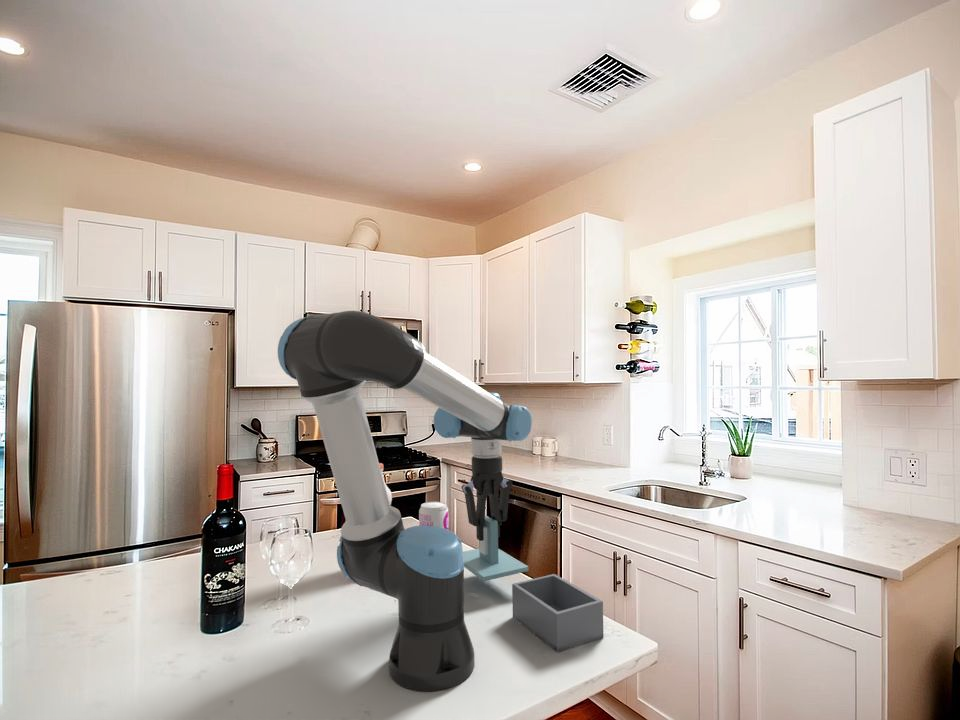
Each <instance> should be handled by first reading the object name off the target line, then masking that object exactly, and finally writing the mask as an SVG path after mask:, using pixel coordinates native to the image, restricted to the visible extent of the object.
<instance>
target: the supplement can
mask: <svg viewBox="0 0 960 720" xmlns="http://www.w3.org/2000/svg"><path fill="white" fill-rule="evenodd" d="M418 520H419V521H418V526H422V525H427V526H429V527H432V526H437V527H441V528H444V529H447V530H449V531H450V529H449V528H450V527H449V526H450V524H449V523H450V522H449V508H448V505H447V503H445V502H442V501H427V502H424V503H421V505H420V508H419V510H418Z"/></svg>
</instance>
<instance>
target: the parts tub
mask: <svg viewBox="0 0 960 720" xmlns="http://www.w3.org/2000/svg"><path fill="white" fill-rule="evenodd" d="M511 590H512V592H511V593H512V594H511V596H512V597H511V598H512V600H511V601H512V603H511V604H512V618H513V619H514V620H515V621H517V622H518V623H519V624H521V625H523V627H525V628H526V629H527V630H528V631H529V632H531V633H532V634H534V635H535V636H536V637H538V639H540V640H541V641H542V642H544V643H545V644H547V645H548V646H549V647H550V648H551V649H552V650H554V651H555V652H556V653H560V652H564V651H566V650H569V649H574V648H577V647H579V646H581V645H585V644H587V643H591V642H593V641H594V642H595V641H597V640H600V639H603V638H604V602H603V600H601V599H599V598H598V597H596V596H594V595H593V594H591V593H589V592H587V591H585V590H584V589H582V588H580V587H579V586H577V585H575V584H573V583H572V582H570V581H568V580H566V579H565V578H562V577H561V576H559V575H558V574H555V573H552V574H547V575H545V576H540V577H535V578H531V579H527V580H524V581H518V582H514V583H512V584H511Z"/></svg>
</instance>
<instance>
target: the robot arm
mask: <svg viewBox="0 0 960 720" xmlns="http://www.w3.org/2000/svg"><path fill="white" fill-rule="evenodd" d="M277 359H278V362H279V365H280V367H281V369H282V370H283V372H284V373H285V374H286V375H287V376H289V377H290V378H292V379H294V380H295V381H297V385H298V389H299V392H300V395H301V398H302V399H303V400H305V401H307V402H309V403H311V404H312V405H313V409H314V413H315V416H316V419H317V423H318V425H319V431H320V433H321V436H322V440H323V444H324V448H325V451H326V454H327V458H328V461H329V465H330V468H331V472H332V475H333V478H334V483H335V487H336V490H337V494H338V497H339V501H340V505H341V509H342V511H343V515H344V518H345V522H344V523H343V525H342V526H341V528H340V536H339V537H340V538H339V542H340V543H339V545H337V548H336V559H337V564H338V567H339V569H340V571H341V572H342V574H343V575H344V576H345V578H347V579H349V580H350V581H352V582H353V583H355V584H356V585H358V586H359V587H363V588H364V587H365V588H367V589H370V590H373V591H375V592H378V593H381V594H384V595H385V596H388V597H392V598H393V599H394V598H395V599H396V600H397V601H398V602H397V603H398V608H397V609H398V624H397V629H396V632H395V634H394V639H393V642H392V645H391V648H390V651H389V657H388V672H389V675H390V678H391V679H392V680H393V681H394V682H395V683H396V684H398V685H399V686H401V687H402V688H403V687H404V688H406V689H410V690H413V691H420V692H423V691H424V692H432V691H433V692H435V691H441V690H445V689H449V688H452V687H454V686H457V685H458V684H461V683H462V682H463V681H465V680H467V678H469V677H470V676H471V674H472V673H473V671H474V669H475V649H474V646H473V642H472V640H471V637H470V633H469V631H468V628H467V625H466V622H465V607H464V606H465V599H464V598H465V573H464V570H465V567H464V557H463V552H464V551H463V544H462V541H461V539H460V537H459V536H458V535H457V534H456V533H455V532H453V531H452V530H450V529H449V530H447V529H444V528H441V527H437V526H432V527H429V526H427V525H422V526H419V525H415V526H410V527H408V528H405V526H404V522H403V519H402V515H401V512H400V510H399V508H396V507H394V506H392V505H390V503H389V500H388V496H387V492H386V488H385V484H386V483H385V484H384V481H385V480H384V481H383V478H384V476H383V477H382V473H383V472H382V473H381V469H380V465H379V463H380V462H379V458H378V455H377V450H376V447H375V443H374V439H373V436H372V432H371V431H372V430H371V428H370V424H369V421H368V417H367V413H366V409H365V406H364V402H363V397H362V395H361V390H362V388H363V387H364V385H365V384H366V382H367V381H368V382H373V383H374V382H375V383H378V384H381V385H384V386H386V387H387V388H390V389H391V390H400V389H402V390H403V389H404V390H405V391H408V392H409V393H412V394H413V395H415V396H417V397H418V398H421V399H423V400H424V401H426V402H428V403H430V404H432V405H433V406H436V407H437V409H436V411H435V413H434V416H433V426H434V429H435V431H436V433H437V435H439V436H440V437H442V438H445V439H448V438H449V439H450V438H451V439H456V438H457V437H459V438H460V437H464V438H470V441H471V443H470V447H471V449H470V451H471V455H472V457H471V473H472V474H471V477H470V481H469V482H468V483H467V484H462V485H461V490H462V492H463V494H464V499H465V504H466V505H465V506H466V512H467V520H468V524H470V525H472V526H474V527H475V528H476V529H475V530H476V531H475V532H476V539H477V540H478V542H479V541H480V552H481V553H483V554H484V555H488V543H487V527H485V526H484V523H485V515H486V508H487V507H486V506H487V505H486V504H487V499H488V498H489V499H488V500H489V507H490V518H492V519H494V520H496V521H498V538H500V536H501V527H500V526H502V525H503V522H506V521H507V519H508V511H509V499H510V490H511V487H512V486H513V481H512V480H509V479H506V478H504V475H503V472H502V471H503V457H502V456H501V454H502V451H503V449H502V447H503V446H502V443H503V442H502V441H507V442H516V441H518V442H521V441H524V440H526V439H527V438H528V437H529V435H530V433H531V430H532V426H533V418H532V415H531V412H530V410H529V409H528V407H526V406H523V405H519V404H518V405H517V404H509V403H506V402H504V401H502V400H501V396H500V394H499V393H498V392H488V391H487V390H486V389H484V388H483V387H481V386H479V385H477V384H476V383H474V382H473V381H472V380H470V379H469V378H467V377H466V376H463V374H461V373H459V372H457V370H454V369H453V368H451V367H450V366H448V365H447V364H445V363H443V362H442V361H440V360H439V359H437V358H436V357H435V356H433V355H431V354H430V353H428V352H427V351H425V347H424V344H423V343H422V342H421V341H420V340H419V339H417V338H415V336H412V335H411V334H410V333H408V332H406V331H404V330H403V329H401V328H400V327H398V326H396V325H394V324H393V323H391V322H389V321H386V320H385V319H383V318H381V317H379V316H377V315H376V316H375V314H374V315H373V314H371V313H367V312H365V311H359V310H358V311H357V310H346V311H345V310H344V311H340V312H333V313H323V314H314V315H308V316H305V317H302V318H299V319H297V320H294V321H293V322H291V323H290V324H289V325H287V326H286V328H285V329H284V331H283V333H282V335H281V336H280V338H279V339H278V344H277ZM499 488H500V491H499ZM474 490H475V491H476V494H474V493H473V492H474ZM499 492H500V493H499ZM474 495H476V503H475V496H474Z"/></svg>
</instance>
